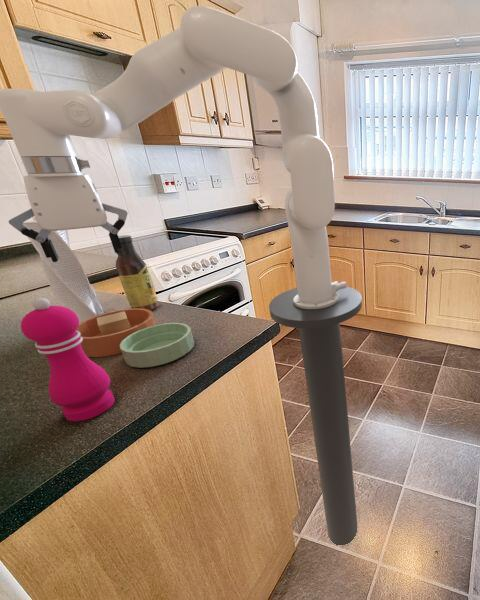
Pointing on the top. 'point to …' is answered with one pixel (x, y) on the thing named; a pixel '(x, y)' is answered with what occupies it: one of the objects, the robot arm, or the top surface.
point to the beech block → (113, 323)
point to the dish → (157, 345)
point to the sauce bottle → (135, 276)
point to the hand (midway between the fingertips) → (87, 256)
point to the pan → (110, 344)
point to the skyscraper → (67, 275)
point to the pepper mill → (68, 362)
